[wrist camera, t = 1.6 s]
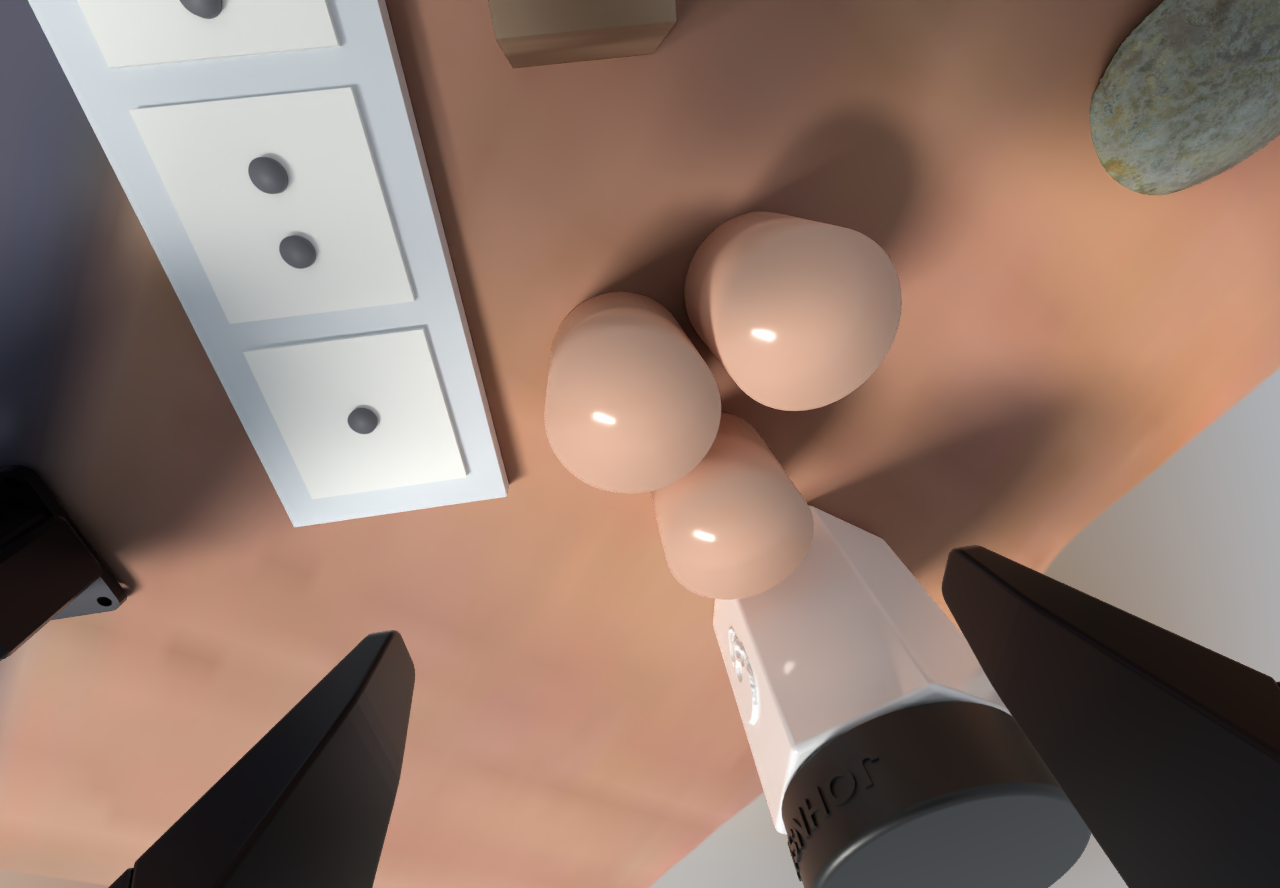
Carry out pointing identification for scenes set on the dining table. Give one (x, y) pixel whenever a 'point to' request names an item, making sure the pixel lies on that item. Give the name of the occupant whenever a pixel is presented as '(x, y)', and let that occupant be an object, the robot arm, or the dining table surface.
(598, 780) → the dining table surface
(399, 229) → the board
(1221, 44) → the soupspoon
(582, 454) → the peach rounded capsule
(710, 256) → the peach rounded blob
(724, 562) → the peach rounded piece
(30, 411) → the dining table surface
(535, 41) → the brown cube
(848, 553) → the jar
